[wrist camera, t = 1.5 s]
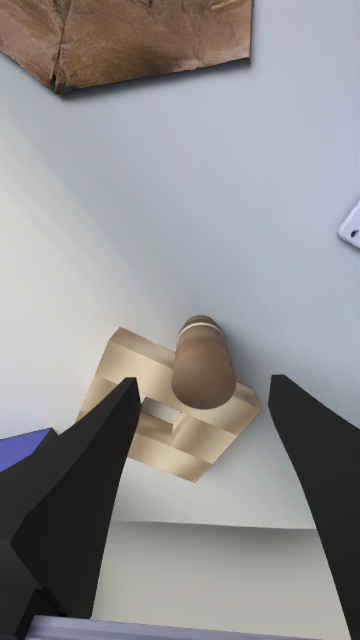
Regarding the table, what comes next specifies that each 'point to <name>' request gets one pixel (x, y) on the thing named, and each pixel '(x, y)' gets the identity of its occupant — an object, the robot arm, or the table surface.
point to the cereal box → (23, 446)
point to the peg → (202, 366)
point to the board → (155, 382)
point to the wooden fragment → (121, 37)
